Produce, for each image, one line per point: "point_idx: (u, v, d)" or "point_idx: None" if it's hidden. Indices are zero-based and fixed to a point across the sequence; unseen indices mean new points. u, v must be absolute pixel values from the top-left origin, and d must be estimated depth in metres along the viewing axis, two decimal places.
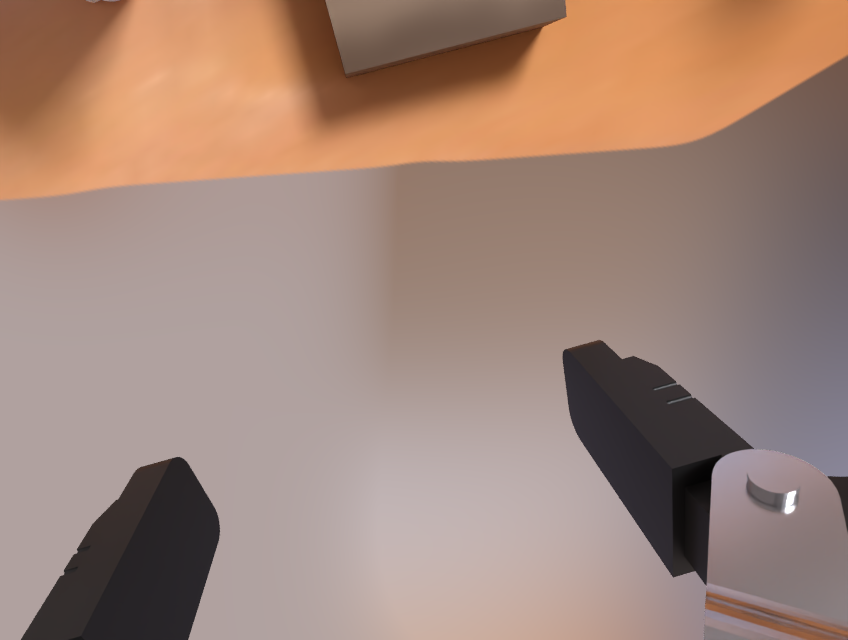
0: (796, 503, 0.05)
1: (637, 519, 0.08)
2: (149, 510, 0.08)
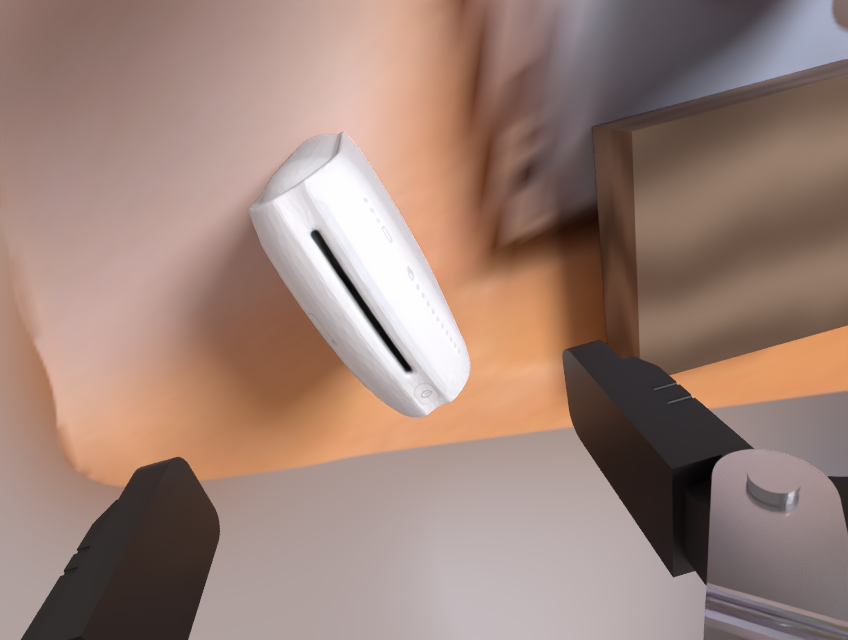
0: (796, 503, 0.05)
1: (637, 519, 0.08)
2: (149, 510, 0.08)
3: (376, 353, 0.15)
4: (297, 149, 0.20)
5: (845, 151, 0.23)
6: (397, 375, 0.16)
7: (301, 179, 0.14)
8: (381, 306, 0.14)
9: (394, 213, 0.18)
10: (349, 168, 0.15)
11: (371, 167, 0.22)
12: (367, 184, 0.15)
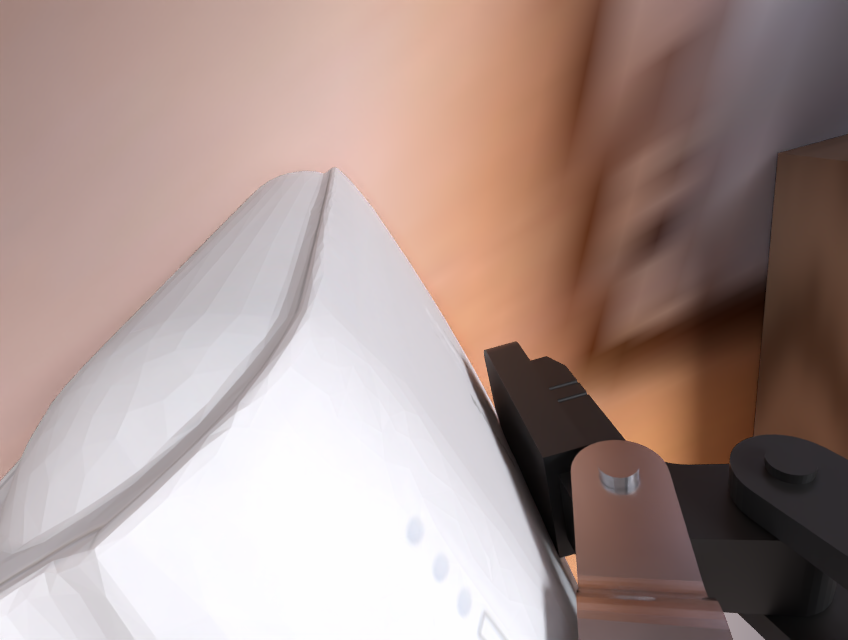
0: (632, 486, 0.06)
1: (537, 506, 0.09)
2: None
3: None
4: (230, 217, 0.09)
5: None
6: None
7: (122, 475, 0.03)
8: None
9: (461, 394, 0.07)
10: (343, 393, 0.03)
11: (391, 239, 0.11)
12: (413, 425, 0.04)
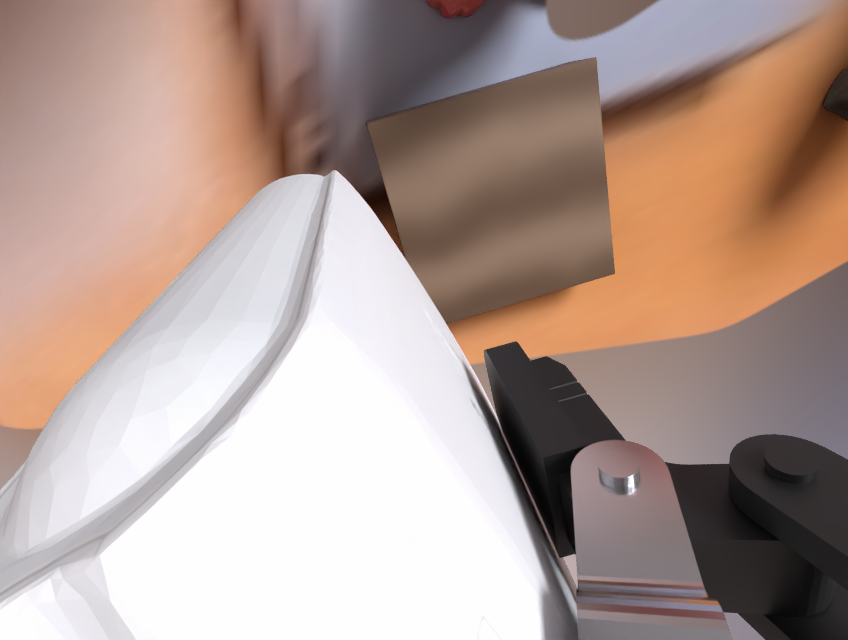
0: (631, 486, 0.06)
1: (537, 506, 0.09)
2: None
3: None
4: (231, 221, 0.09)
5: (552, 135, 0.29)
6: None
7: (126, 481, 0.03)
8: None
9: (460, 397, 0.07)
10: (344, 401, 0.04)
11: (391, 242, 0.11)
12: (412, 430, 0.04)
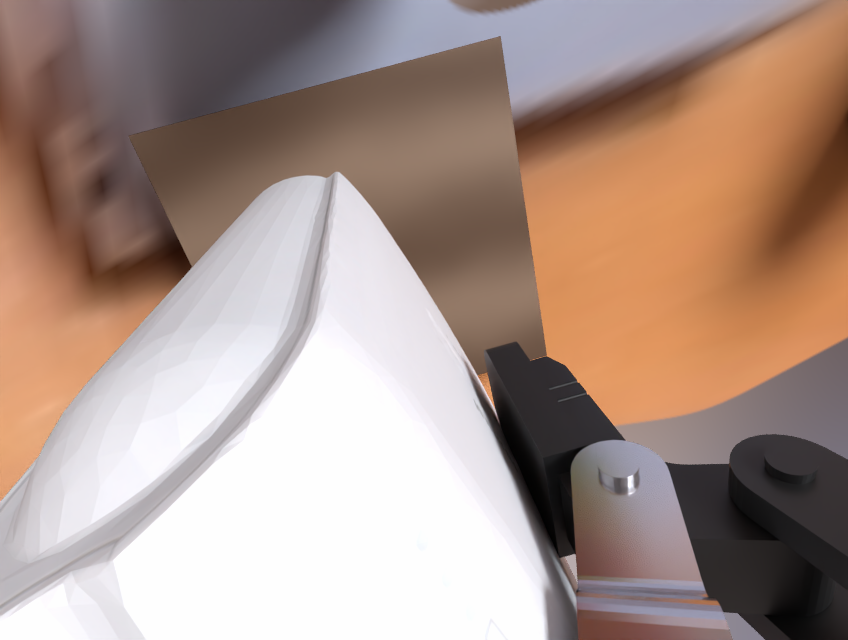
0: (632, 486, 0.06)
1: (537, 507, 0.09)
2: None
3: None
4: (234, 223, 0.09)
5: (438, 158, 0.19)
6: None
7: (136, 486, 0.03)
8: None
9: (464, 399, 0.07)
10: (352, 404, 0.04)
11: (393, 244, 0.11)
12: (420, 434, 0.04)
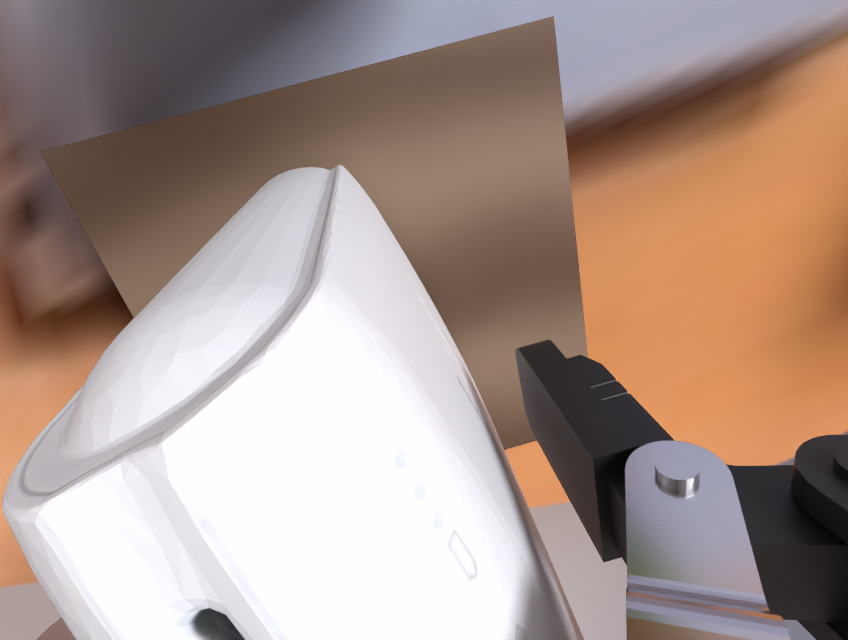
0: (693, 489, 0.06)
1: (576, 509, 0.08)
2: None
3: None
4: (244, 206, 0.10)
5: (465, 181, 0.14)
6: None
7: (173, 400, 0.04)
8: None
9: (447, 372, 0.08)
10: (348, 348, 0.04)
11: (390, 234, 0.12)
12: (403, 380, 0.05)
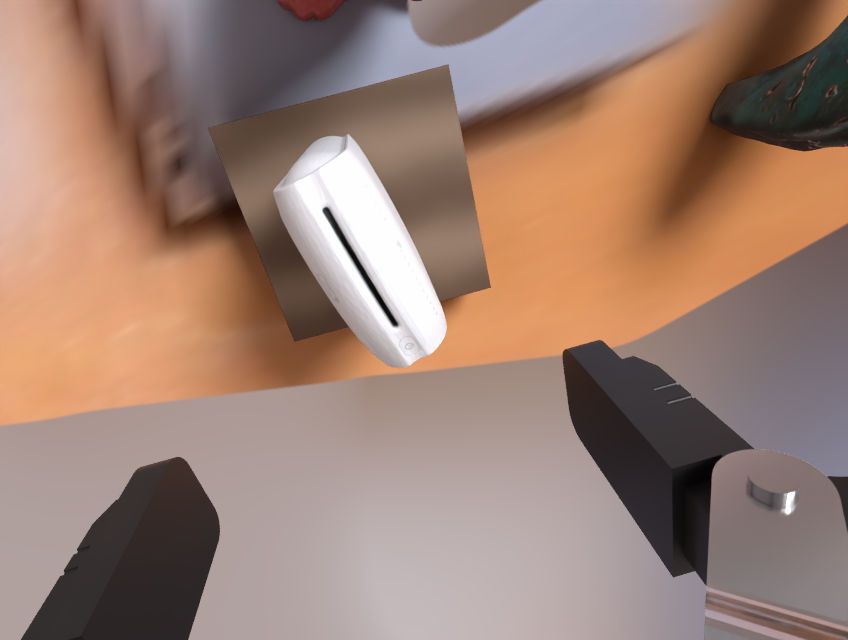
0: (795, 503, 0.05)
1: (636, 519, 0.08)
2: (149, 510, 0.08)
3: (370, 308, 0.19)
4: (310, 147, 0.24)
5: (409, 144, 0.28)
6: (385, 328, 0.20)
7: (316, 168, 0.18)
8: (375, 269, 0.19)
9: (388, 201, 0.22)
10: (353, 161, 0.19)
11: (370, 165, 0.26)
12: (367, 174, 0.19)
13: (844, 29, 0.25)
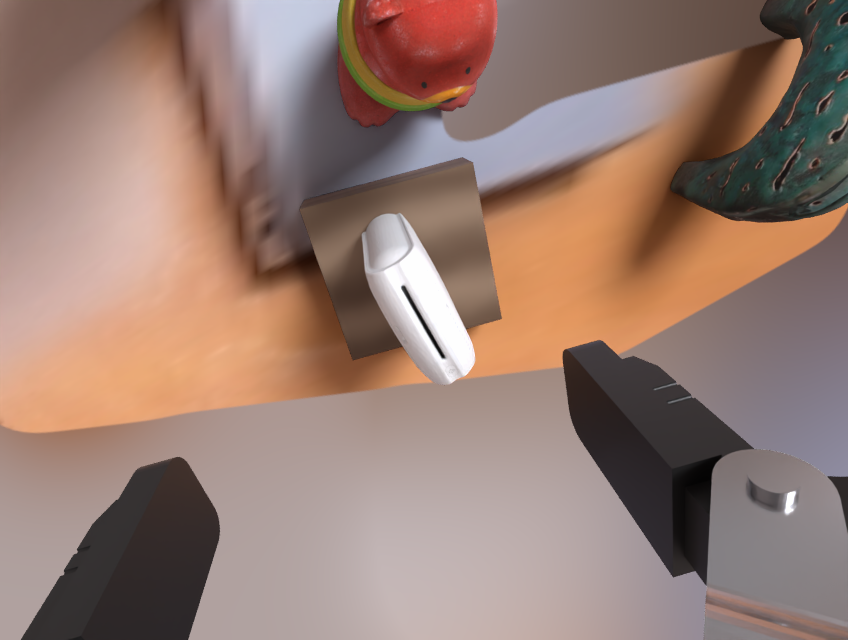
0: (796, 503, 0.05)
1: (637, 519, 0.08)
2: (149, 510, 0.08)
3: (428, 347, 0.29)
4: (378, 229, 0.34)
5: (443, 217, 0.39)
6: (437, 360, 0.30)
7: (396, 259, 0.28)
8: (433, 323, 0.29)
9: (435, 270, 0.33)
10: (419, 254, 0.29)
11: None
12: (427, 261, 0.29)
13: (755, 142, 0.36)
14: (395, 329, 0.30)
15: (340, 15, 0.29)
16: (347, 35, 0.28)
